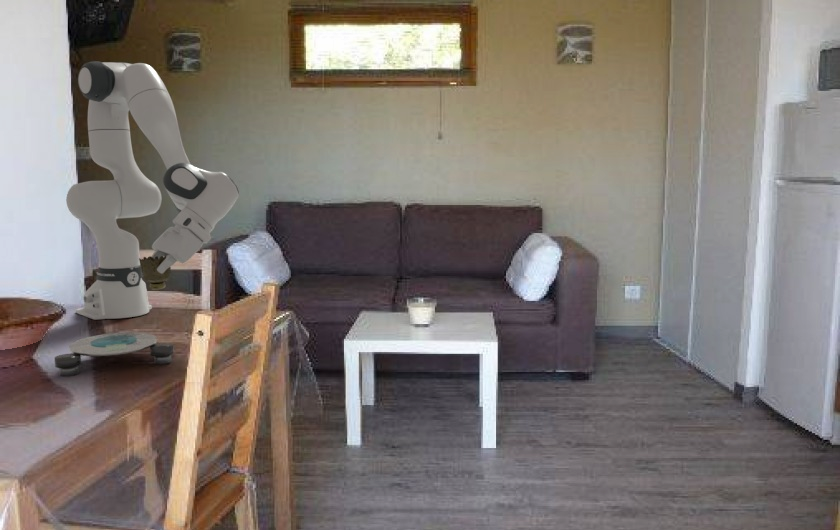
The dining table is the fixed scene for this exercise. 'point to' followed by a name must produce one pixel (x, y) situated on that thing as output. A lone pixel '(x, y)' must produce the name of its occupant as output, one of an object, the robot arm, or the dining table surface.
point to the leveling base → (112, 349)
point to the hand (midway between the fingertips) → (153, 269)
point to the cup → (154, 272)
